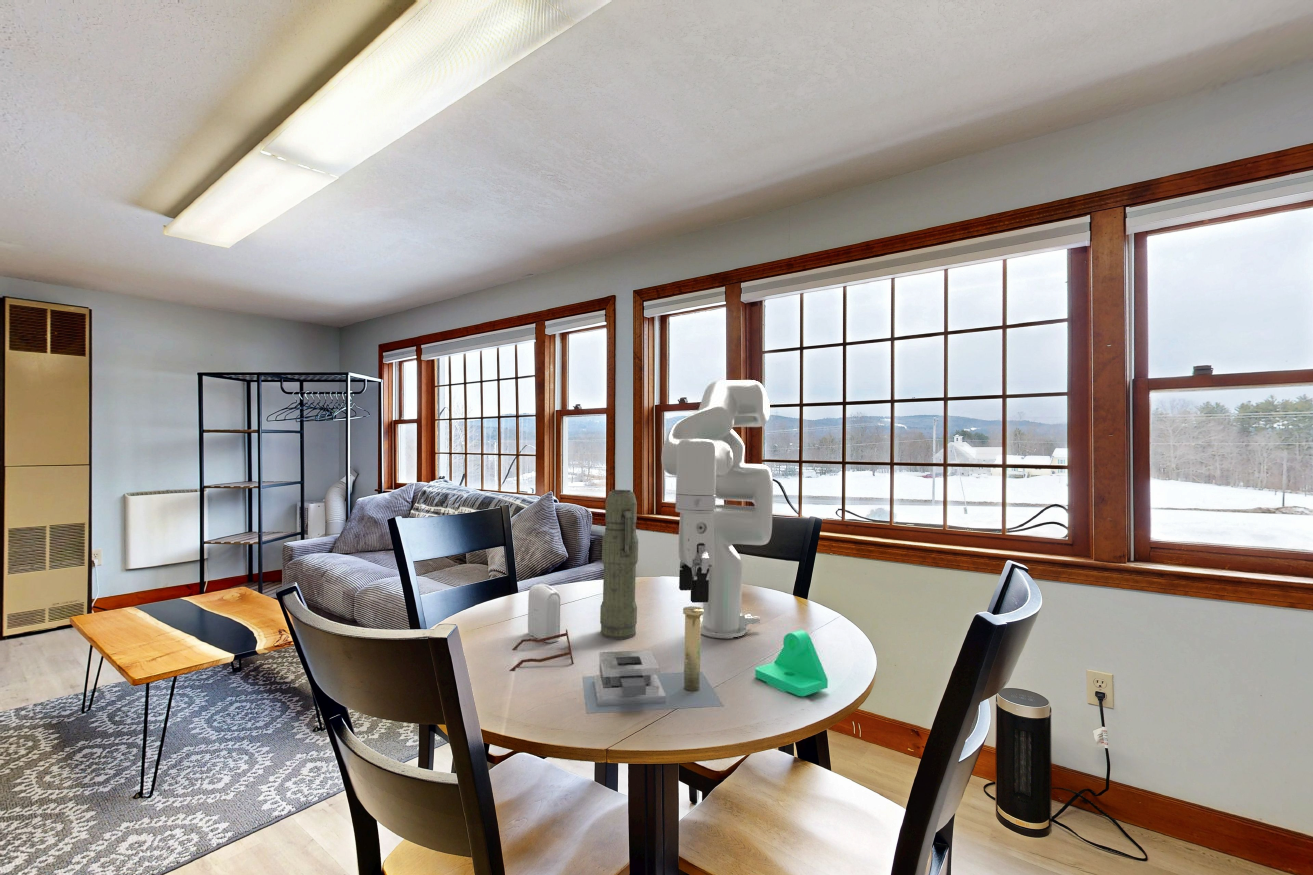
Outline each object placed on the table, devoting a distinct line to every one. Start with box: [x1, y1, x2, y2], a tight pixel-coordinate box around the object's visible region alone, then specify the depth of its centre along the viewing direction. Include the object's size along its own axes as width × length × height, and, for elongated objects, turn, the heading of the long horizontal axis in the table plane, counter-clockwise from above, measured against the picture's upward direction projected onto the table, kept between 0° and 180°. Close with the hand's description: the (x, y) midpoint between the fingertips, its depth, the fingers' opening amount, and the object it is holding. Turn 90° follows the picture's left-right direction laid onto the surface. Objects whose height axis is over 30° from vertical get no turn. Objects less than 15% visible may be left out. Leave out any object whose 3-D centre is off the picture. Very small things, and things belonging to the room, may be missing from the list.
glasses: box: [509, 629, 574, 672], centre depth 126 cm, size 13×13×5 cm
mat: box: [582, 670, 725, 714], centre depth 109 cm, size 24×16×1 cm, turn 100°
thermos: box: [599, 489, 639, 640], centre depth 144 cm, size 9×12×35 cm
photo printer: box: [527, 583, 561, 644], centre depth 140 cm, size 10×4×12 cm, turn 39°
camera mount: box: [754, 629, 829, 697], centre depth 114 cm, size 12×8×10 cm, turn 37°
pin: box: [682, 605, 703, 692], centre depth 110 cm, size 4×4×15 cm
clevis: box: [593, 649, 666, 706], centre depth 107 cm, size 12×14×6 cm
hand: (693, 595), depth 110 cm, fingers open, 9 cm apart
